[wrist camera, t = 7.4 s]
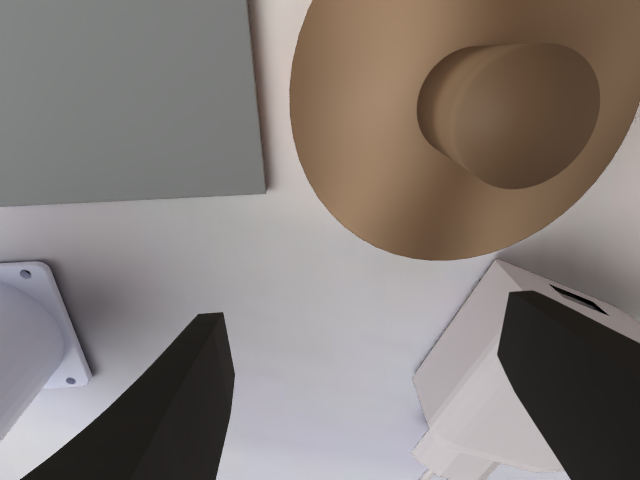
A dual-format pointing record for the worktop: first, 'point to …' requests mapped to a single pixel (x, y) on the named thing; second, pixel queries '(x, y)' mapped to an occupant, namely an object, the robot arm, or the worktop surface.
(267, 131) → the worktop surface
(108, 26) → the mat
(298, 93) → the lid
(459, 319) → the charger
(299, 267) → the worktop surface
